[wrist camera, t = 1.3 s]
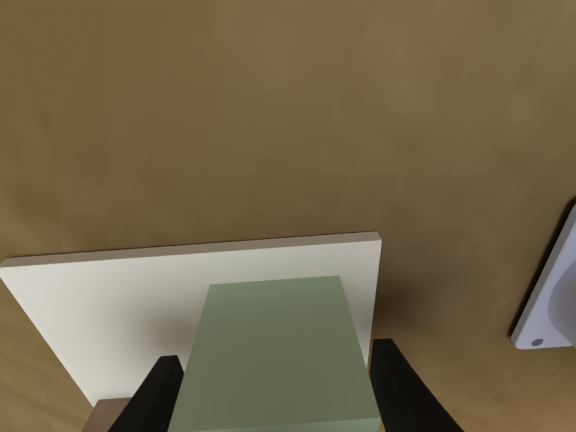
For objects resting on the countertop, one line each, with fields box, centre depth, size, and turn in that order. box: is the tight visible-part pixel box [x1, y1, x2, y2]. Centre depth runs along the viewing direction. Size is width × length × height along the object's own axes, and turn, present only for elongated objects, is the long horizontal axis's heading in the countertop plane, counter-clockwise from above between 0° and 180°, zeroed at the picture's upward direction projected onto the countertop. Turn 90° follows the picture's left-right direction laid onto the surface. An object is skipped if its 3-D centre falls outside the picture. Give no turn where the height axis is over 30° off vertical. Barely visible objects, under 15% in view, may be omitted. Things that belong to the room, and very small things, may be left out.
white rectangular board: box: [0, 231, 382, 407], centre depth 17 cm, size 14×25×1 cm, turn 4°
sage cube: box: [168, 275, 381, 432], centre depth 10 cm, size 5×5×5 cm
